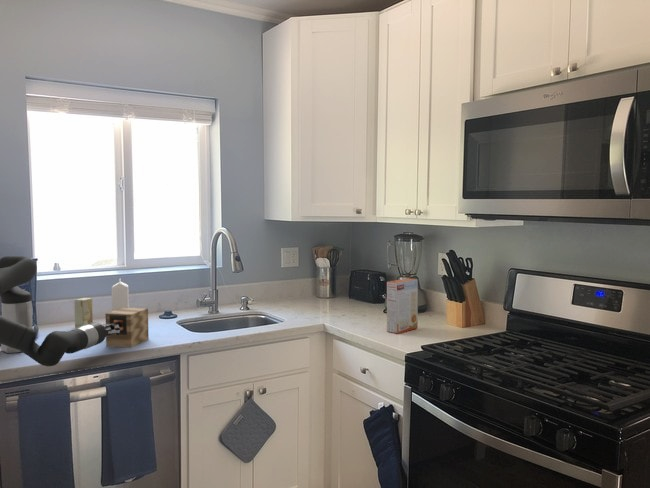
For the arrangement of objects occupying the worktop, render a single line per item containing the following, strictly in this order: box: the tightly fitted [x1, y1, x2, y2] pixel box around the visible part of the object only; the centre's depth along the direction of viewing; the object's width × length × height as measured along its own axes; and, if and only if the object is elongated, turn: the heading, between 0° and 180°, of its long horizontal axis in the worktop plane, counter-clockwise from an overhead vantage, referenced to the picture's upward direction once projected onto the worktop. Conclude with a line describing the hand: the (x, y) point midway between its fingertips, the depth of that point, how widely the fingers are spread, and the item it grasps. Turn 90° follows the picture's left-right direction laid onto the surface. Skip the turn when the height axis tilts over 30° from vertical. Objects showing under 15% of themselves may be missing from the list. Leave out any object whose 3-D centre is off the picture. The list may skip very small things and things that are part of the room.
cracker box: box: [386, 277, 419, 334], centre depth 222 cm, size 14×6×21 cm, turn 134°
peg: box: [114, 319, 124, 330], centre depth 202 cm, size 12×4×4 cm, turn 168°
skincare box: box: [74, 297, 94, 329], centre depth 226 cm, size 6×4×12 cm
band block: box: [105, 307, 150, 348], centre depth 202 cm, size 12×10×12 cm
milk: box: [111, 277, 130, 312], centre depth 217 cm, size 6×6×22 cm
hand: (118, 324), depth 196 cm, fingers closed
